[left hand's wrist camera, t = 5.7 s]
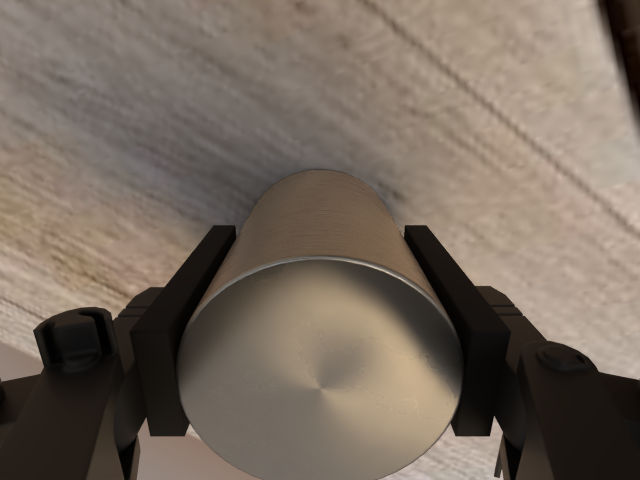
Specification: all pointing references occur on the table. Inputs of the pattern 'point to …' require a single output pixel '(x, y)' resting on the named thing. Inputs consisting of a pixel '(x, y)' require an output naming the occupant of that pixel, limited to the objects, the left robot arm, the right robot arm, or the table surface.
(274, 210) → the tin
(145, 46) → the table surface
